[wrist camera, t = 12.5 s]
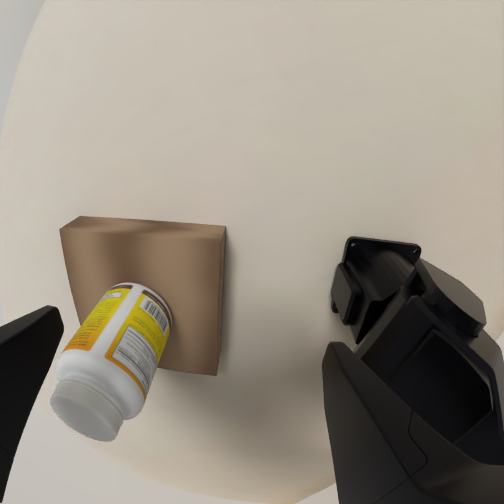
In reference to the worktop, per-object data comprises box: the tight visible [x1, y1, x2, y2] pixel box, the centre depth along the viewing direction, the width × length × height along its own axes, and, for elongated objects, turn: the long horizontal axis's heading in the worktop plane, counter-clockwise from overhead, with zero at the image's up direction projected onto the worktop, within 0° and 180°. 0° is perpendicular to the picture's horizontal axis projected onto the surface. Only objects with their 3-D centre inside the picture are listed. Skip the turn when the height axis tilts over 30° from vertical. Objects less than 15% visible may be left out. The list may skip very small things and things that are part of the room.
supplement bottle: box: [50, 282, 172, 442], centre depth 16 cm, size 6×6×10 cm
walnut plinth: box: [59, 216, 226, 376], centre depth 22 cm, size 12×12×3 cm
